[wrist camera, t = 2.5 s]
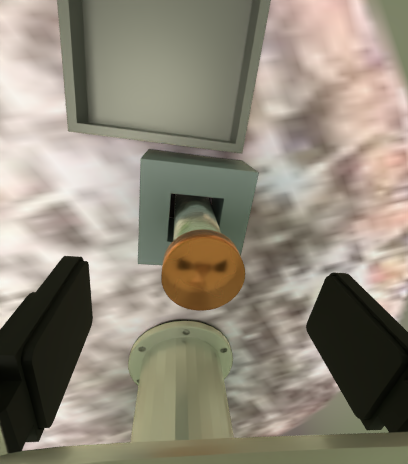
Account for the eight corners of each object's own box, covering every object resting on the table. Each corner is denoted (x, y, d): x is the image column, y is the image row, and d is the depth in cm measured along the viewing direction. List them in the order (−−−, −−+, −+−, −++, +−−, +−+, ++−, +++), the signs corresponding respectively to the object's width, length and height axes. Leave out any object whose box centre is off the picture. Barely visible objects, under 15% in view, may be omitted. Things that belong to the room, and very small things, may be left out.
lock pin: (210, 221, 24) (236, 311, 13) (167, 218, 24) (159, 309, 13) (216, 180, 22) (252, 243, 11) (171, 175, 22) (164, 237, 11)
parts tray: (234, 148, 21) (242, 153, 19) (83, 129, 20) (67, 131, 17) (267, -45, 16) (284, -77, 14) (69, -94, 15) (45, -140, 12)
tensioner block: (226, 242, 25) (237, 269, 21) (145, 235, 24) (137, 263, 20) (242, 160, 22) (258, 172, 17) (148, 149, 21) (140, 158, 16)
